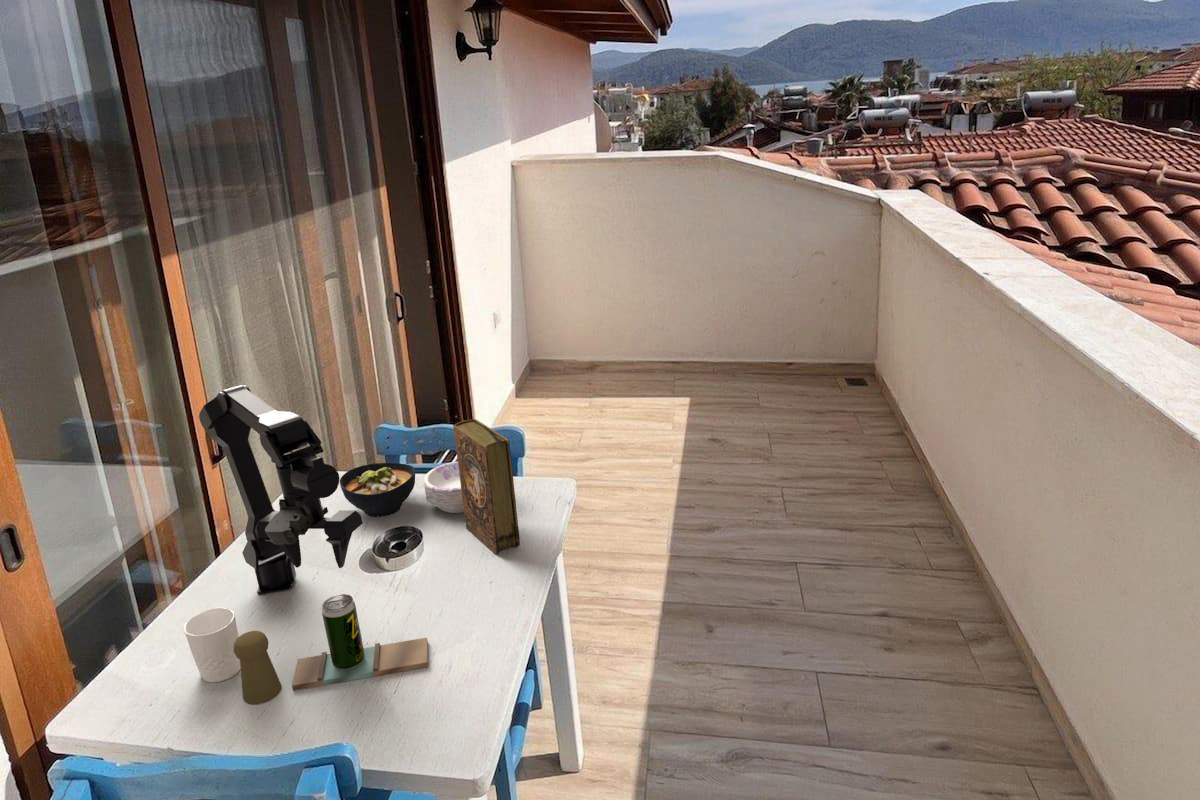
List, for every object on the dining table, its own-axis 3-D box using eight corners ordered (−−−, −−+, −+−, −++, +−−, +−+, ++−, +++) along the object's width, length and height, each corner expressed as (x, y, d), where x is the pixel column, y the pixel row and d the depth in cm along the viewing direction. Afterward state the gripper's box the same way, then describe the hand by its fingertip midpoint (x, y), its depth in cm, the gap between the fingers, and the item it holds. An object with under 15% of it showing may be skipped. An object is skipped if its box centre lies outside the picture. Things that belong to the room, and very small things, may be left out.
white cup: (215, 691, 136) (202, 641, 133) (187, 676, 140) (173, 627, 137) (256, 663, 142) (244, 615, 139) (228, 650, 146) (216, 602, 143)
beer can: (330, 674, 137) (317, 614, 133) (335, 654, 142) (323, 595, 138) (363, 670, 138) (351, 610, 133) (367, 650, 143) (356, 591, 138)
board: (293, 690, 135) (291, 683, 135) (298, 663, 142) (297, 656, 141) (427, 667, 139) (426, 659, 138) (427, 642, 145) (426, 635, 145)
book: (463, 526, 184) (450, 424, 175) (485, 519, 187) (473, 417, 178) (497, 556, 171) (485, 447, 162) (520, 548, 174) (509, 440, 165)
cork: (244, 709, 131) (230, 653, 128) (241, 687, 137) (227, 632, 133) (284, 696, 134) (271, 640, 130) (279, 675, 139) (266, 621, 135)
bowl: (410, 525, 186) (404, 486, 183) (336, 528, 187) (328, 489, 183) (426, 491, 202) (421, 454, 199) (357, 494, 203) (351, 457, 199)
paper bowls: (435, 525, 185) (431, 494, 183) (421, 498, 199) (417, 468, 196) (500, 510, 191) (496, 479, 188) (482, 484, 204) (478, 455, 201)
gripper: (224, 507, 139) (247, 588, 143) (316, 505, 133) (338, 590, 138) (267, 481, 149) (287, 558, 154) (354, 479, 144) (373, 559, 148)
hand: (319, 566), depth 148 cm, fingers open, 9 cm apart
